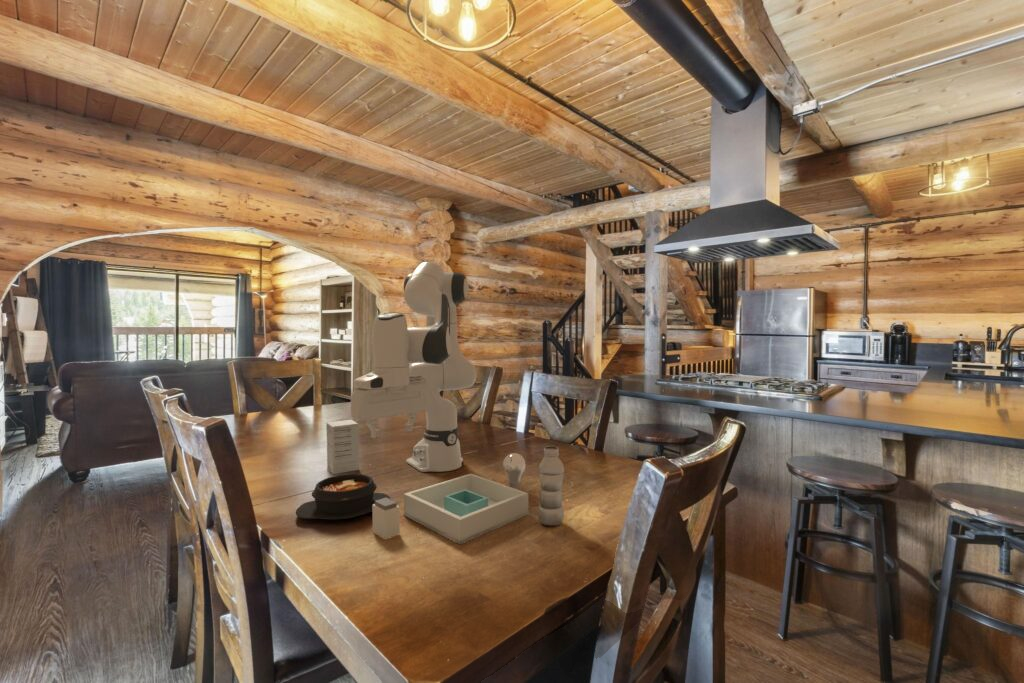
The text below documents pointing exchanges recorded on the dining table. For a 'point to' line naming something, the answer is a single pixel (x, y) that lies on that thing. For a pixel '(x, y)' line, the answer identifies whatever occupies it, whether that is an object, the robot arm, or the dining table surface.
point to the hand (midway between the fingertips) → (392, 434)
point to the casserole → (341, 498)
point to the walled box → (465, 507)
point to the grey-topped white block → (385, 518)
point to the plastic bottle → (551, 488)
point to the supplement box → (342, 446)
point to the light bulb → (514, 469)
